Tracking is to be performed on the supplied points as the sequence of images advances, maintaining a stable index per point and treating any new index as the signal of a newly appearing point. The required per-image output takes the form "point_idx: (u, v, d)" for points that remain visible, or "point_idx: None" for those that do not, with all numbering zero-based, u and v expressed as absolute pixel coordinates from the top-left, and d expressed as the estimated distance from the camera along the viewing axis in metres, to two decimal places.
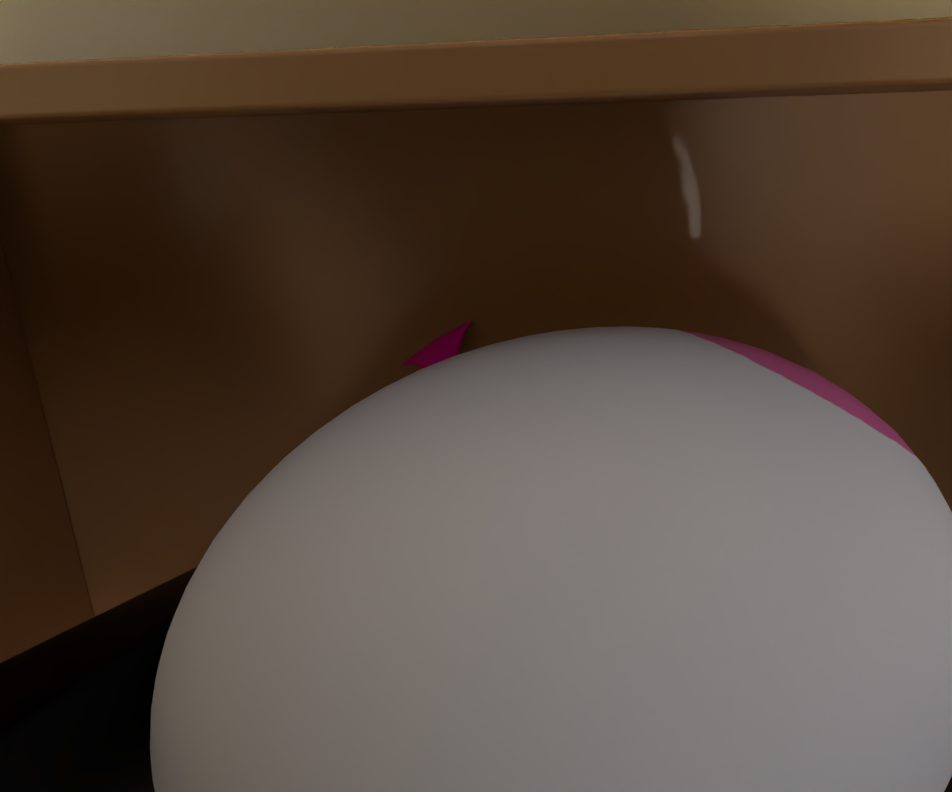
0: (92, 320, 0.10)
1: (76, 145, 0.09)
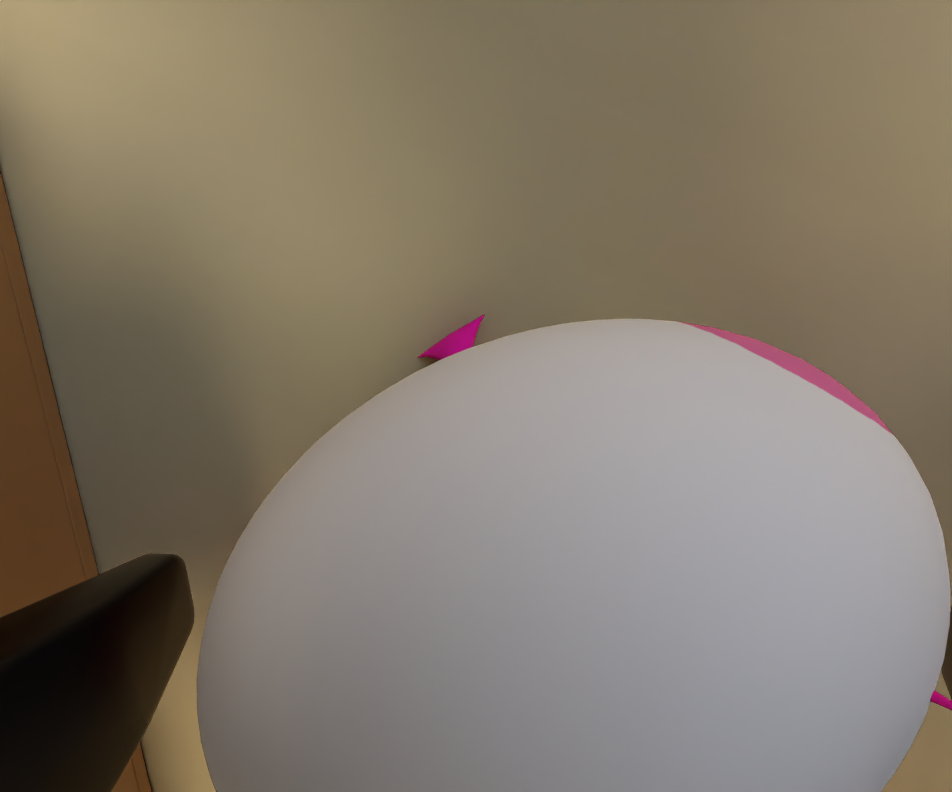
0: None
1: None
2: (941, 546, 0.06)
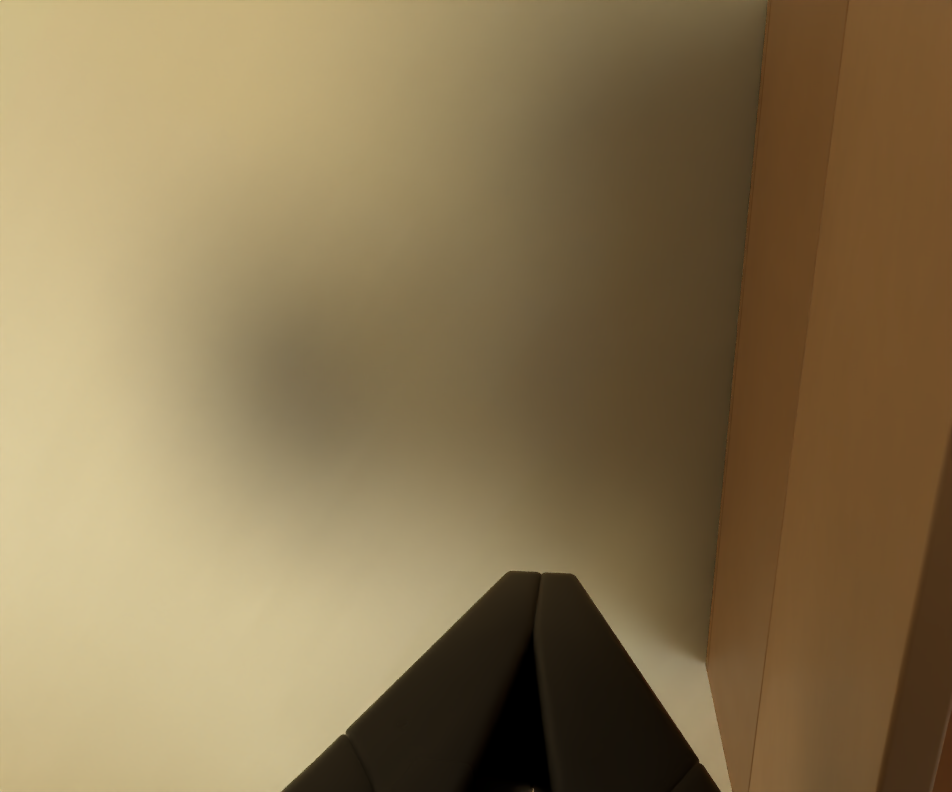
0: None
1: None
2: None
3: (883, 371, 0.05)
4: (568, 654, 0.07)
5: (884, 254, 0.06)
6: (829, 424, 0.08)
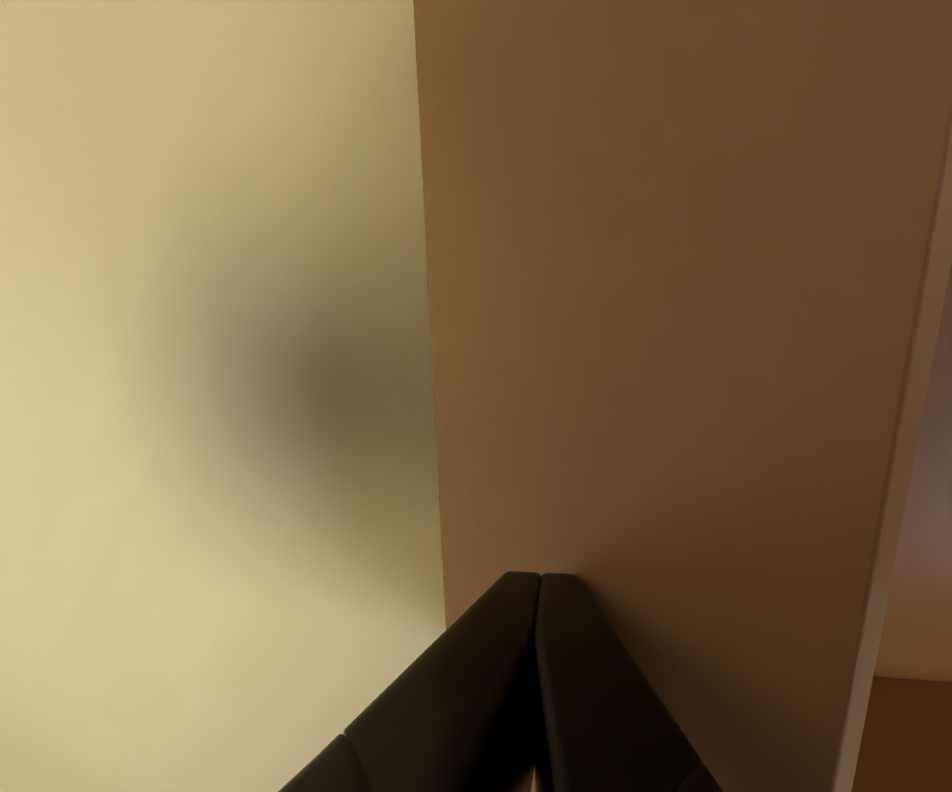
0: None
1: None
2: None
3: (706, 336, 0.06)
4: (570, 654, 0.07)
5: (655, 239, 0.07)
6: (556, 402, 0.08)
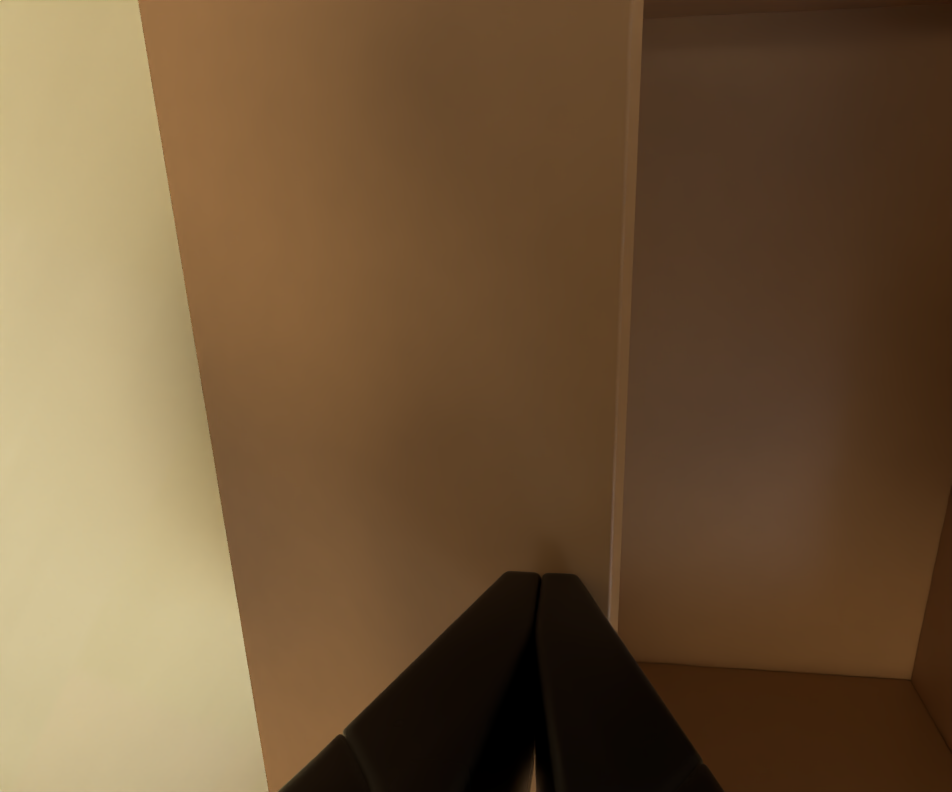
0: (887, 71, 0.13)
1: None
2: None
3: (476, 291, 0.08)
4: (571, 654, 0.07)
5: (424, 221, 0.08)
6: (344, 370, 0.10)
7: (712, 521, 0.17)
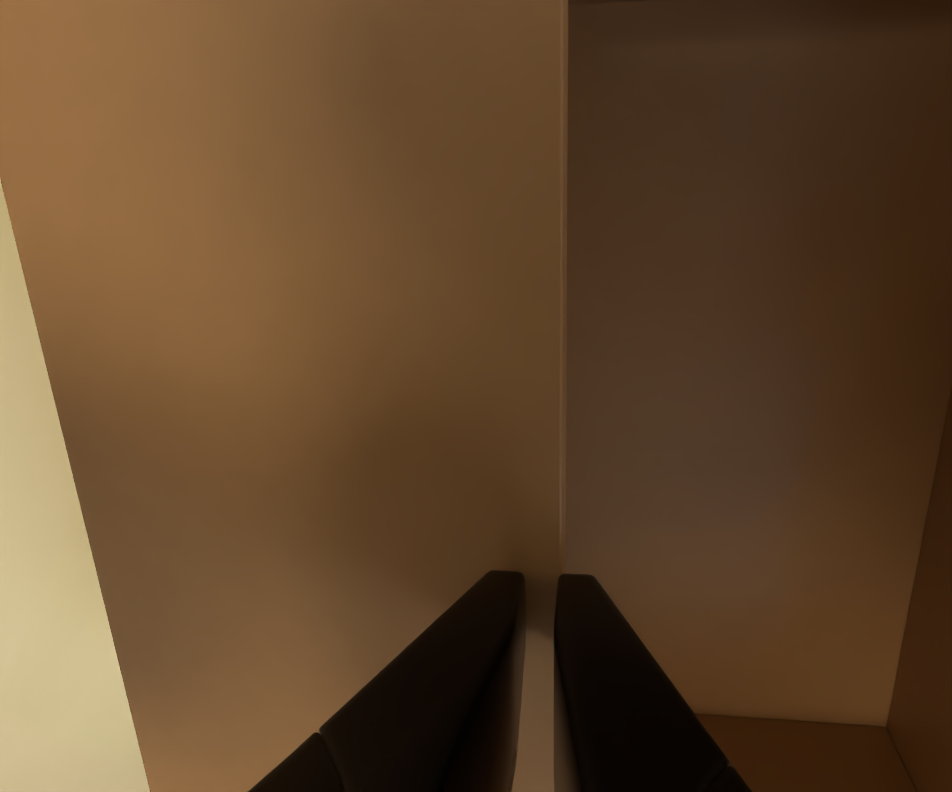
0: (847, 61, 0.12)
1: None
2: None
3: (405, 292, 0.08)
4: (592, 656, 0.07)
5: (342, 223, 0.08)
6: (251, 390, 0.09)
7: (667, 557, 0.15)
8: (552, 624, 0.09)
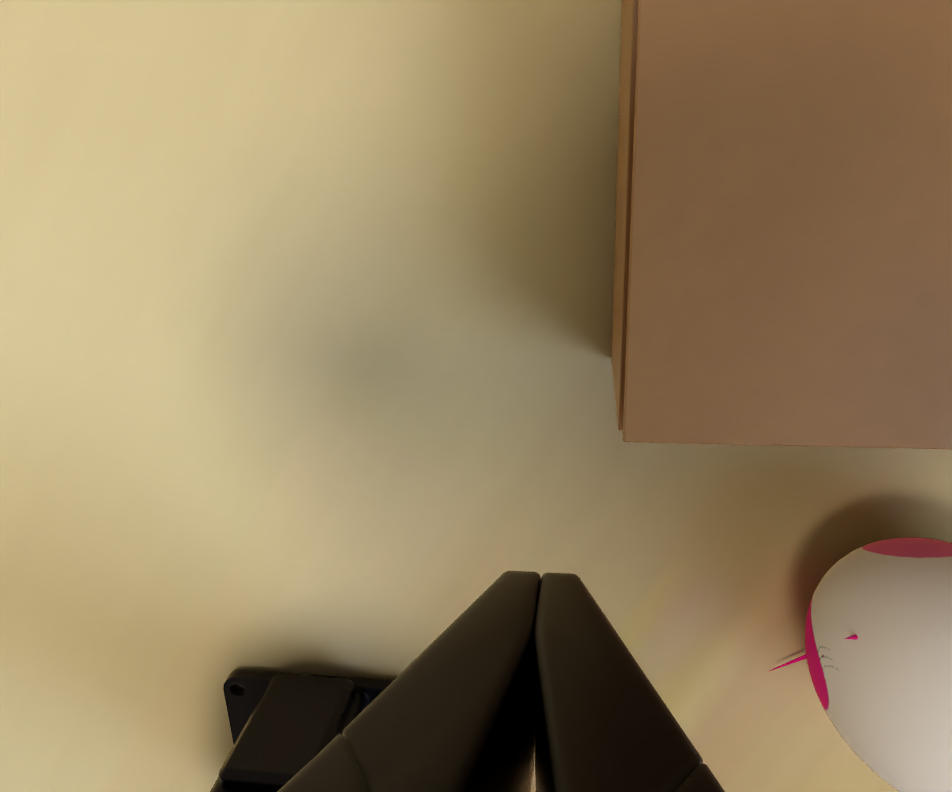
0: None
1: None
2: None
3: None
4: (571, 654, 0.07)
5: None
6: None
7: None
8: None
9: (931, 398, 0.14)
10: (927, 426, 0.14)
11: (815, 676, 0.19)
